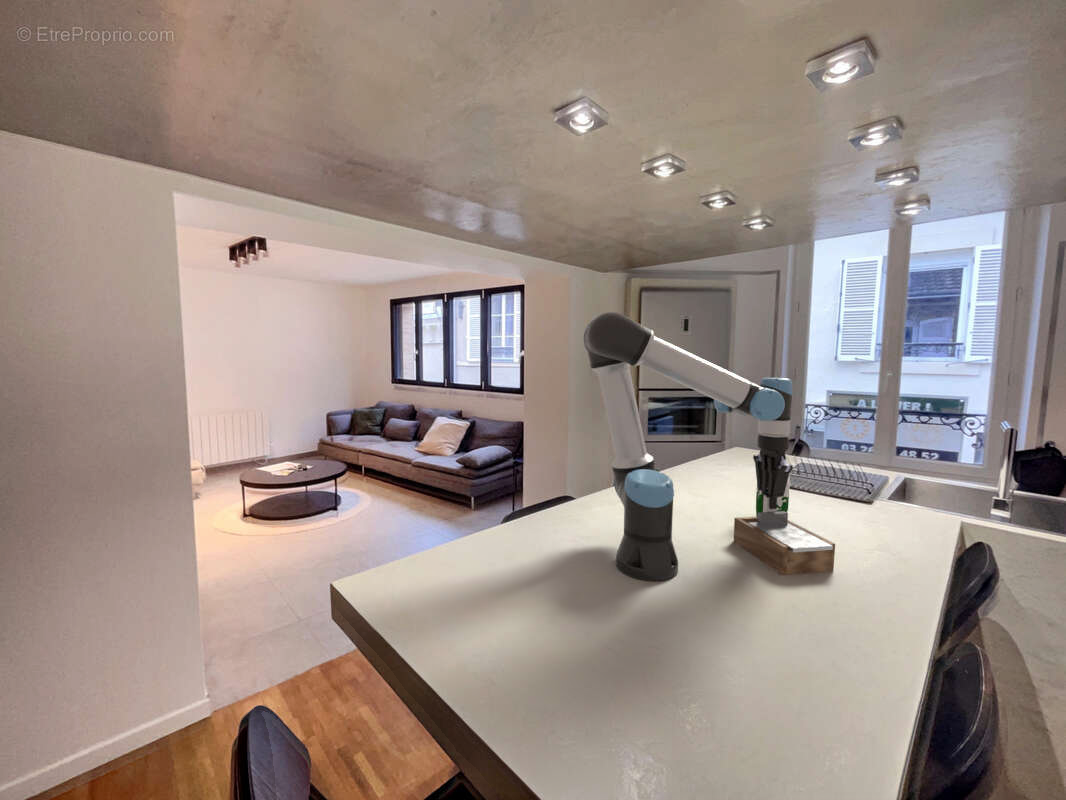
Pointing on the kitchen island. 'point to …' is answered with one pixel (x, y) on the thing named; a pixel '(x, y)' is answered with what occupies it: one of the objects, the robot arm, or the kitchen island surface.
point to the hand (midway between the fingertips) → (768, 518)
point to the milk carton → (781, 501)
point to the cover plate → (788, 532)
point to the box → (781, 550)
